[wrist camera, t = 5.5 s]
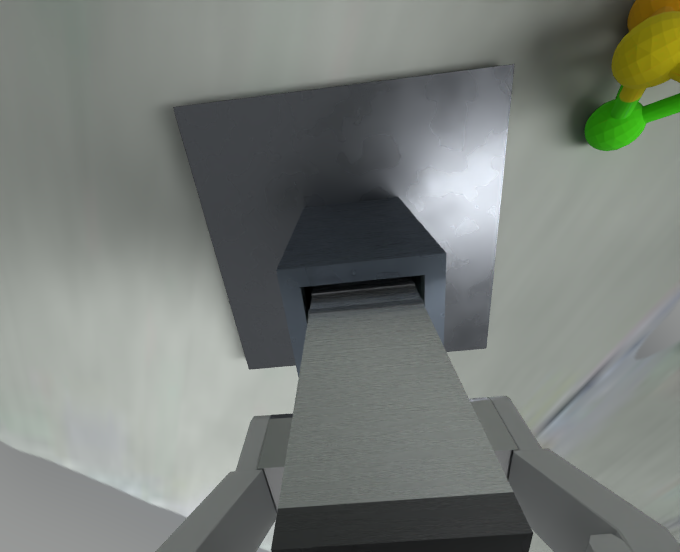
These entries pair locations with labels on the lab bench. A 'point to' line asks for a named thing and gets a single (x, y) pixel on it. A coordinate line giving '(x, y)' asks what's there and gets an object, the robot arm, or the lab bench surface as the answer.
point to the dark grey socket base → (354, 199)
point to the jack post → (388, 437)
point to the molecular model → (640, 75)
